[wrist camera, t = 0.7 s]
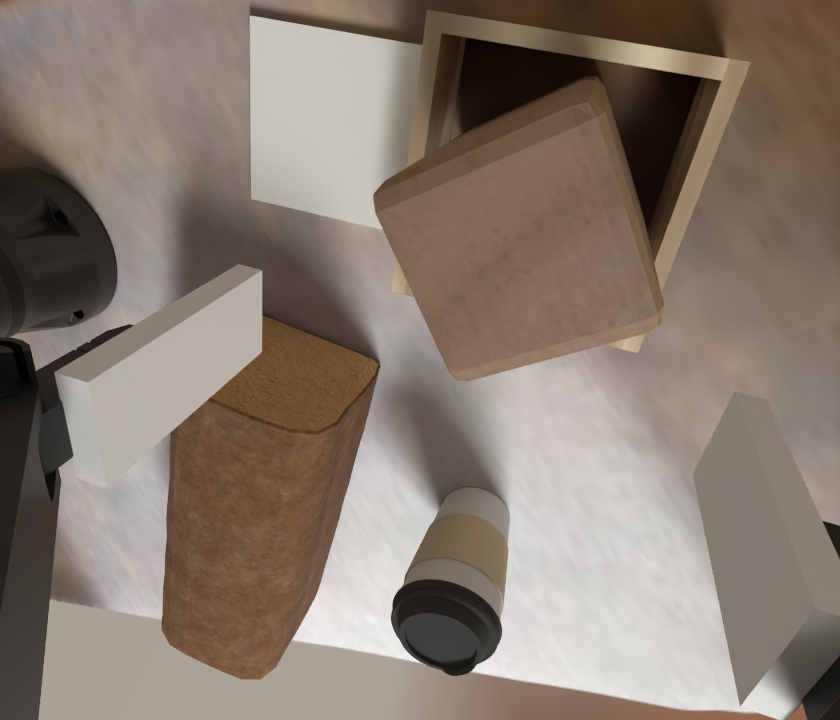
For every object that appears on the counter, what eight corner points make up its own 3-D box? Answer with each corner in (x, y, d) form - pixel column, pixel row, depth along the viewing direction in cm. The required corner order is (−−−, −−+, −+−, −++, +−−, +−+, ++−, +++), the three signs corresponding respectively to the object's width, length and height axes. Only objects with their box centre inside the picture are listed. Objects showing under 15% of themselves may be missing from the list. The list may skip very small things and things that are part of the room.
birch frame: (418, 260, 46) (391, 291, 40) (454, 15, 38) (426, 9, 32) (633, 311, 43) (637, 353, 37) (725, 59, 35) (750, 62, 29)
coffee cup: (414, 494, 58) (360, 619, 45) (489, 465, 54) (453, 594, 41) (463, 557, 60) (425, 693, 48) (538, 534, 56) (519, 677, 43)
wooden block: (459, 134, 41) (356, 194, 24) (600, 68, 37) (596, 85, 20) (509, 261, 44) (450, 394, 27) (643, 214, 40) (672, 336, 23)
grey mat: (254, 197, 48) (251, 199, 47) (254, 15, 41) (249, 15, 41) (404, 231, 45) (401, 234, 45) (428, 46, 39) (426, 46, 38)
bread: (219, 541, 71) (140, 643, 59) (248, 302, 53) (144, 378, 41) (323, 587, 69) (264, 701, 57) (389, 357, 52) (323, 452, 40)
